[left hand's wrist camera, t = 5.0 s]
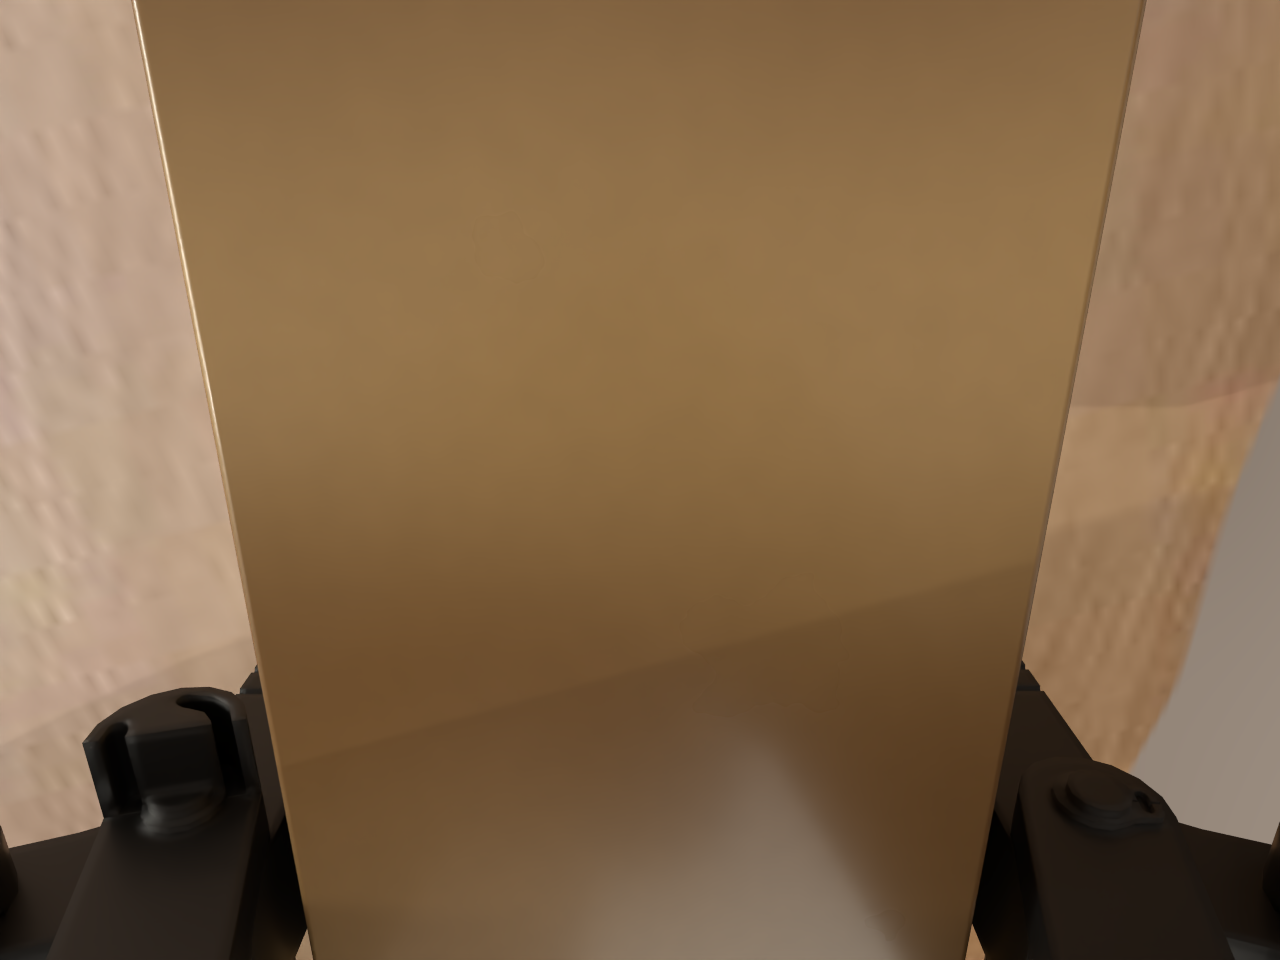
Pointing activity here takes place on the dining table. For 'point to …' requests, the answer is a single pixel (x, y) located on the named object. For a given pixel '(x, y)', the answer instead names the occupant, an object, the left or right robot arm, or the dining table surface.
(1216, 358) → the dining table surface
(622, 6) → the bar
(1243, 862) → the left robot arm
